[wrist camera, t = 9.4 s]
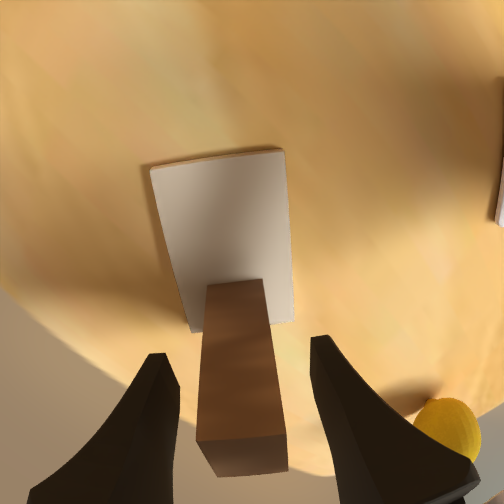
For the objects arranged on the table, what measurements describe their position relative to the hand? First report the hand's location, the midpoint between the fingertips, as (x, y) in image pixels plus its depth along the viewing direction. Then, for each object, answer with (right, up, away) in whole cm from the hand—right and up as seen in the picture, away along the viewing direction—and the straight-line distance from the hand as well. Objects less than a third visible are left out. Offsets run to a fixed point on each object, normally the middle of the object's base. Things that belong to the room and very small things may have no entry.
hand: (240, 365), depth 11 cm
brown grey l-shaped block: (0, +4, +3) cm, 5 cm away
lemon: (+15, -8, +11) cm, 20 cm away
